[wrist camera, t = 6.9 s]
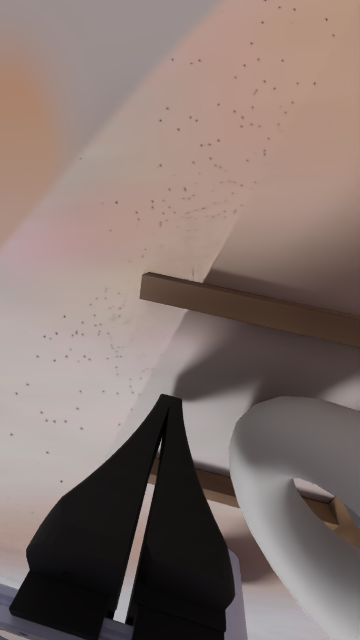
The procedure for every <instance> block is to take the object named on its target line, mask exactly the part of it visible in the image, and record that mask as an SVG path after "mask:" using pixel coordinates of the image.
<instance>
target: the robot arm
mask: <svg viewBox="0 0 360 640" xmlns="http://www.w3.org/2000/svg"><path fill="white" fill-rule="evenodd" d="M161 439H162V442H161ZM160 442H161V449H160V456H159V463H158V470H157V477H156V482H155V488H154V493H153V497H152V502H151V506H150V511H149V516H148V520H147V525H146V529H145V534H144V539H143V543H142V548H141V552H140V557H139V561H138V566H137V570H136V575H135V580H134V584H133V589H132V593H131V598H130V602H129V607H128V611H127V616H126V620H125V624H124V623H121V622H118V621H115V620H113V617H114V613H115V610H116V609H117V605H118V601H119V597H120V593H121V589H122V585H123V581H124V576H125V572H126V568H127V564H128V560H129V556H130V552H131V548H132V544H133V540H134V536H135V531H136V527H137V523H138V519H139V515H140V511H141V507H142V503H143V499H144V495H145V491H146V487H147V483H148V480H149V476H150V473H151V470H152V467H153V464H154V461H155V458H156V455H157V451H158V448H159V445H160ZM26 557H27V561H28V564H29V568H30V570H29V572H28V574H27V576H26V578H25V580H24V581H23V583H22V585H21V587H20V589H19V590H18V589H15V588H12V587H9V586H6V585H3V584H0V630H3V631H6V632H9V633H12V634H15V635H18V636H21V637H24V638H27V639H30V640H248V638H247V629H246V620H245V611H244V602H243V592H242V583H241V574H240V565H239V559H238V557H237V556H236V555H235V553H233V552H232V551H231V550H229V549H228V547H227V544H226V542H225V540H224V538H223V536H222V534H221V532H220V530H219V527H218V525H217V523H216V521H215V519H214V516H213V514H212V512H211V509H210V507H209V505H208V502H207V500H206V497H205V494H204V492H203V489H202V487H201V484H200V481H199V479H198V476H197V473H196V470H195V466H194V463H193V460H192V456H191V453H190V449H189V445H188V441H187V436H186V431H185V426H184V420H183V411H182V399H181V398H177V397H173V396H169V395H165V394H161V395H160V397H159V399H158V401H157V402H156V404H155V406H154V407H153V409H152V410H151V412H150V413H149V415H148V416H147V417H146V419H145V420H144V421H143V423H142V424H141V425H140V426H139V427H138V429H137V430H136V431H135V432H134V433H133V435H132V436H131V437H130V438H129V439H128V440H127V441H126V442H125V443H124V444H123V445H122V446H121V447H120V448H119V449H118V450H117V451H116V452H115V453H114V454H113V455H112V456H111V457H110V458H109V459H108V460H107V461H106V462H105V463H104V464H102V465H101V466H100V467H99V468H98V469H97V470H95V471H94V472H93V473H92V474H91V475H90V476H88V477H87V478H86V479H85V480H84V481H82V482H81V483H80V484H78V485H77V486H76V487H74V488H73V489H72V490H71V491H69V492H68V493H67V494H65V495H64V496H63V497H62V498H61V499H60V500H59V501H58V502H57V504H56V505H55V506H54V507H53V509H52V510H51V511H50V513H49V514H48V515H47V517H46V518H45V520H44V521H43V522H42V524H41V525H40V527H39V529H38V530H37V532H36V534H35V535H34V537H33V539H32V540H31V542H30V544H29V545H28V547H27V549H26ZM0 640H8V639H6V638H3V637H1V636H0Z"/></svg>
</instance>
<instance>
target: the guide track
mask: <svg viewBox="0 0 360 640" xmlns="http://www.w3.org/2000/svg"><path fill="white" fill-rule="evenodd" d="M140 299H143V300H148V301H152V302H157V303H161V304H166V305H170V306H175V307H179V308H184V309H188V310H193V311H197V312H202V313H206V314H211V315H215V316H220V317H225V318H229V319H234V320H238V321H243V322H247V323H252V324H256V325H261V326H265V327H270V328H274V329H279V330H283V331H288V332H292V333H297V334H302V335H306V336H311V337H315V338H320V339H324V340H329V341H333V342H338V343H342V344H347V345H351V346H356V347H360V317H359V316H354V315H350V314H345V313H340V312H335V311H331V310H326V309H321V308H317V307H312V306H307V305H302V304H298V303H293V302H288V301H284V300H279V299H274V298H269V297H265V296H260V295H255V294H251V293H246V292H241V291H236V290H232V289H227V288H222V287H217V286H213V285H208V284H203V283H199V282H194V281H189V280H184V279H180V278H175V277H170V276H166V275H161V274H156V273H151V272H148V273H145V274H143V275H142V281H141V290H140ZM158 463H159V459H158V458H155V461H154V464H153V467H152V470H151V473H150V476H149V480H148V483H150V484H153V485H155V482H156V477H157V470H158ZM195 470H196V473H197V476H198V479H199V481H200V484H201V487H202V489H203V492H204V494H205V497H206V499H208V500H211V501H215V502H219V503H222V504H226V505H230V506H233V507H237V508H240V507H239V505H238V501H237V498H236V494H235V491H234V487H233V483H232V480H231V478H228V477H225V476H221V475H217V474H214V473H210V472H206V471H202V470H199V469H195ZM301 498H302V499H303V500H304V501H305V503H306V504H307V505H308V506H309V508H310V509H311V510H312V512H313V513H314V514H315V515H316V516H317V517H319V518H320V519H321V520H322V521H323V522H324V523H325V524H326V525H327V526H328V527H329V528H330V529H331V530H333V531H334V532H335V533H337V534H338V535H339V536H341V537H342V538H343V539H345V540H346V541H347V542H349V543H351V544H353V545H355V546H356V547H358V548H360V517H359V516H358V515H357V514H356V513H355V512H353V511H352V510H351V509H350V508H349V507H348V506H346V505H345V504H344V503H343V502H342V501H340V500H339V499H338V498H337V497H335V498H334V499H333V500H332V501H331V502H330V503H329V504H325V503H322V502H318V501H314V500H311V499H307V498H303V497H301Z"/></svg>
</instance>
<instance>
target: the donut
mask: <svg viewBox="0 0 360 640" xmlns="http://www.w3.org/2000/svg"><path fill="white" fill-rule="evenodd" d="M229 464H230V475H231V480H232V483H233V487H234V491H235V494H236V498H237V501H238V505H239V507H240V509H241V511H242V513H243V516H244V518H245V520H246V522H247V525H248V527H249V529H250V531H251V533H252V535H253V537H254V539H255V540H256V542H257V544H258V545H259V547H260V549H261V550H262V552H263V554H264V555H265V557H266V559H267V560H268V562H269V564H270V565H271V567H272V569H273V570H274V571H275V573H276V574H277V576H278V577H279V578H280V580H281V581H282V582H283V584H284V585H285V586H286V588H287V589H288V590H289V592H290V593H291V595H292V596H293V597H294V599H295V600H296V601H297V603H298V604H299V605H300V607H301V608H302V609H303V610H304V612H305V613H306V614H307V615H308V616H309V617H310V618H311V619H312V621H313V622H314V623H315V624H316V625H317V626H318V627H319V628H320V630H321V631H322V632H323V633H324V634H325V635H326V636H327V637H328V639H329V640H360V548H358V547H356V546H355V545H353V544H351V543H349V542H347V541H346V540H345V539H343V538H342V537H341V536H339V535H338V534H337V533H335V532H334V531H333V530H331V529H330V528H329V527H328V526H327V525H326V524H325V523H324V522H323V521H322V520H321V519H320V518H319V517H317V516H316V515H315V514H314V513H313V512H312V510H311V509H310V508H309V506H308V505H307V504H306V503H305V501H304V500H303V499H302V498H301V496H300V494H299V492H298V490H297V489H296V487H295V484H294V480H293V478H300V479H303V480H305V481H308V482H311V483H313V484H316V485H318V486H319V487H321V488H323V489H324V490H326V491H327V492H329V493H331V494H332V495H334V496H335V497H337V498H338V499H339V500H340V501H342V502H343V503H344V504H345V505H346V506H348V507H349V508H350V509H351V510H352V511H353V512H355V513H356V514H357V515H358V516H359V517H360V411H357V410H354V409H350V408H347V407H344V406H341V405H338V404H335V403H331V402H328V401H325V400H322V399H319V398H310V397H294V396H280V397H276V398H273V399H270V400H266V401H263V402H260V403H257V404H255V405H253V406H252V407H251V408H250V409H249V410H248V411H247V412H246V413H245V414H244V415H243V416H242V417H241V418H240V419H239V420H238V421H237V423H236V425H235V428H234V431H233V435H232V438H231V441H230V445H229Z"/></svg>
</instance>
